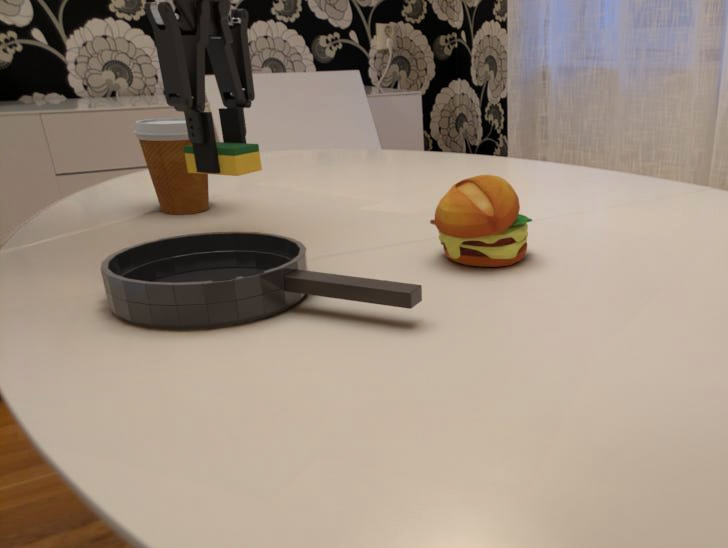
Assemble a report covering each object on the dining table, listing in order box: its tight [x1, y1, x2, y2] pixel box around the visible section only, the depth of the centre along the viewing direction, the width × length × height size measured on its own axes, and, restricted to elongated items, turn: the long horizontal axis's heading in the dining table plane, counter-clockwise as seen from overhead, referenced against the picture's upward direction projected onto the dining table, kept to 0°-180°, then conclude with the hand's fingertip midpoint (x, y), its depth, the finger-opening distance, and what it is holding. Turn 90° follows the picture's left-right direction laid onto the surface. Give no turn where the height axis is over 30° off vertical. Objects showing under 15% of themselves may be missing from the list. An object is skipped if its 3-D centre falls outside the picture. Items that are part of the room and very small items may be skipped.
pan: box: [99, 231, 310, 331], centre depth 61 cm, size 17×17×4 cm
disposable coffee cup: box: [133, 117, 210, 215], centre depth 93 cm, size 10×10×12 cm
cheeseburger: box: [429, 174, 533, 268], centre depth 73 cm, size 10×11×10 cm
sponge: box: [183, 141, 263, 177], centre depth 79 cm, size 7×4×3 cm, turn 70°
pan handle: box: [283, 270, 423, 310], centre depth 57 cm, size 12×2×1 cm, turn 70°
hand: (223, 168), depth 79 cm, fingers closed on sponge, 4 cm apart
